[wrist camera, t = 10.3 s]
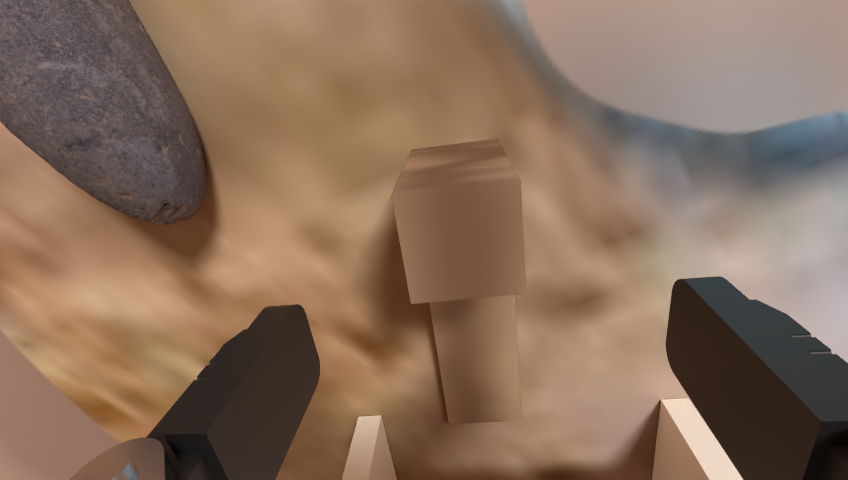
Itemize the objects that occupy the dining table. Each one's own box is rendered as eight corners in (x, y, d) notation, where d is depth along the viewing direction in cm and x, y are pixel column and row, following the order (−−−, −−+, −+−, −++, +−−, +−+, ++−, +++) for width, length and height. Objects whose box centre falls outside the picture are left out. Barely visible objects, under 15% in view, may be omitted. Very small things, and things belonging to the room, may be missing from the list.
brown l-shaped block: (501, 137, 19) (527, 180, 12) (519, 407, 25) (542, 525, 19) (407, 150, 19) (384, 197, 13) (448, 410, 26) (447, 527, 19)
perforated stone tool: (262, 181, 20) (177, 237, 14) (178, 217, 22) (64, 283, 15) (50, -187, 15) (-239, -361, 9) (-47, -114, 16) (-366, -223, 10)
